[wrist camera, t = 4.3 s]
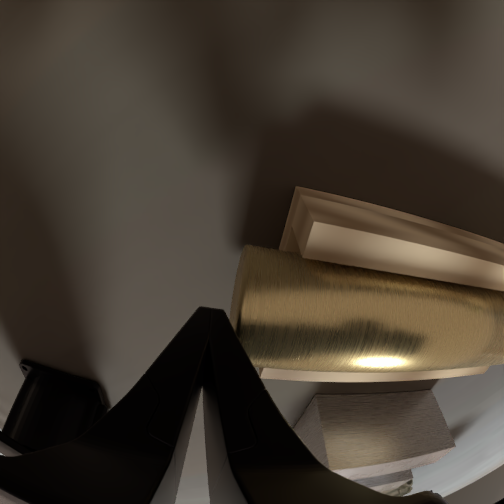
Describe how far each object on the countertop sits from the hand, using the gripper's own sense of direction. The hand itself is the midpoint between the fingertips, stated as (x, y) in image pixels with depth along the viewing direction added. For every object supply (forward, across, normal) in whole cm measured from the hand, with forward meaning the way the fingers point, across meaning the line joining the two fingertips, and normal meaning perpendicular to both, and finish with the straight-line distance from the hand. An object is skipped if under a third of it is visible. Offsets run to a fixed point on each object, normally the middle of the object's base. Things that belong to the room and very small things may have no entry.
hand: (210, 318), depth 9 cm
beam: (+4, -9, 0) cm, 10 cm away
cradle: (+4, -12, +13) cm, 18 cm away
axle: (+3, -9, 0) cm, 9 cm away
